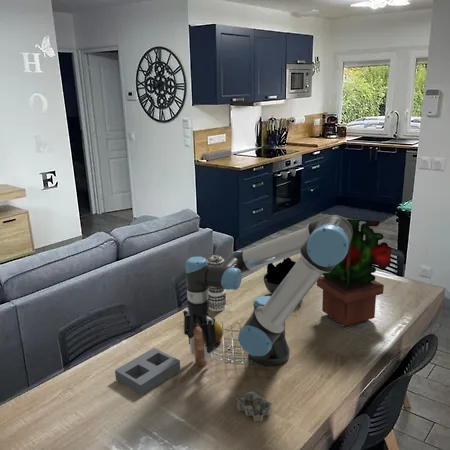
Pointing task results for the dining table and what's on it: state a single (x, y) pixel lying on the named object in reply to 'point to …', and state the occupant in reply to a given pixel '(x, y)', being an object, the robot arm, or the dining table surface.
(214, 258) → the decorative candle
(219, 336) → the fruit
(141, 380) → the socket block
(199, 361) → the peg
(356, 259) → the potted plant
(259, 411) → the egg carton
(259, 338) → the robot arm
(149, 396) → the dining table surface
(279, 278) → the bowl of black rocks
